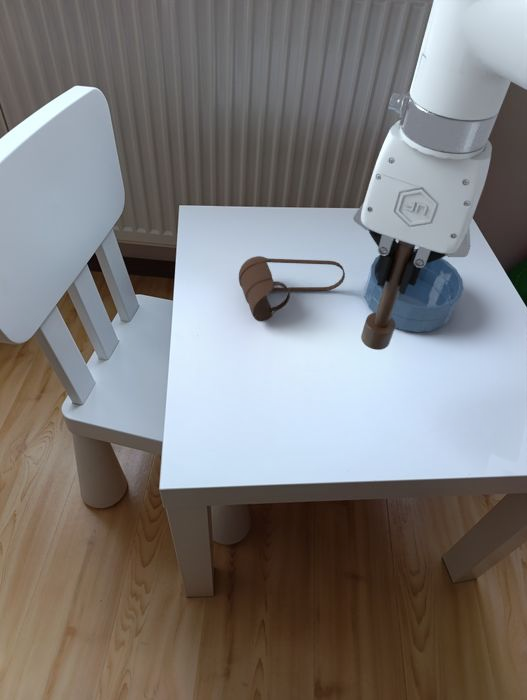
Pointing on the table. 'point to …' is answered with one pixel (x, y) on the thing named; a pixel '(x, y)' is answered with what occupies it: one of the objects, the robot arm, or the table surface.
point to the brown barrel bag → (271, 284)
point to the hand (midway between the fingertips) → (394, 281)
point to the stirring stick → (387, 301)
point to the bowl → (421, 297)
